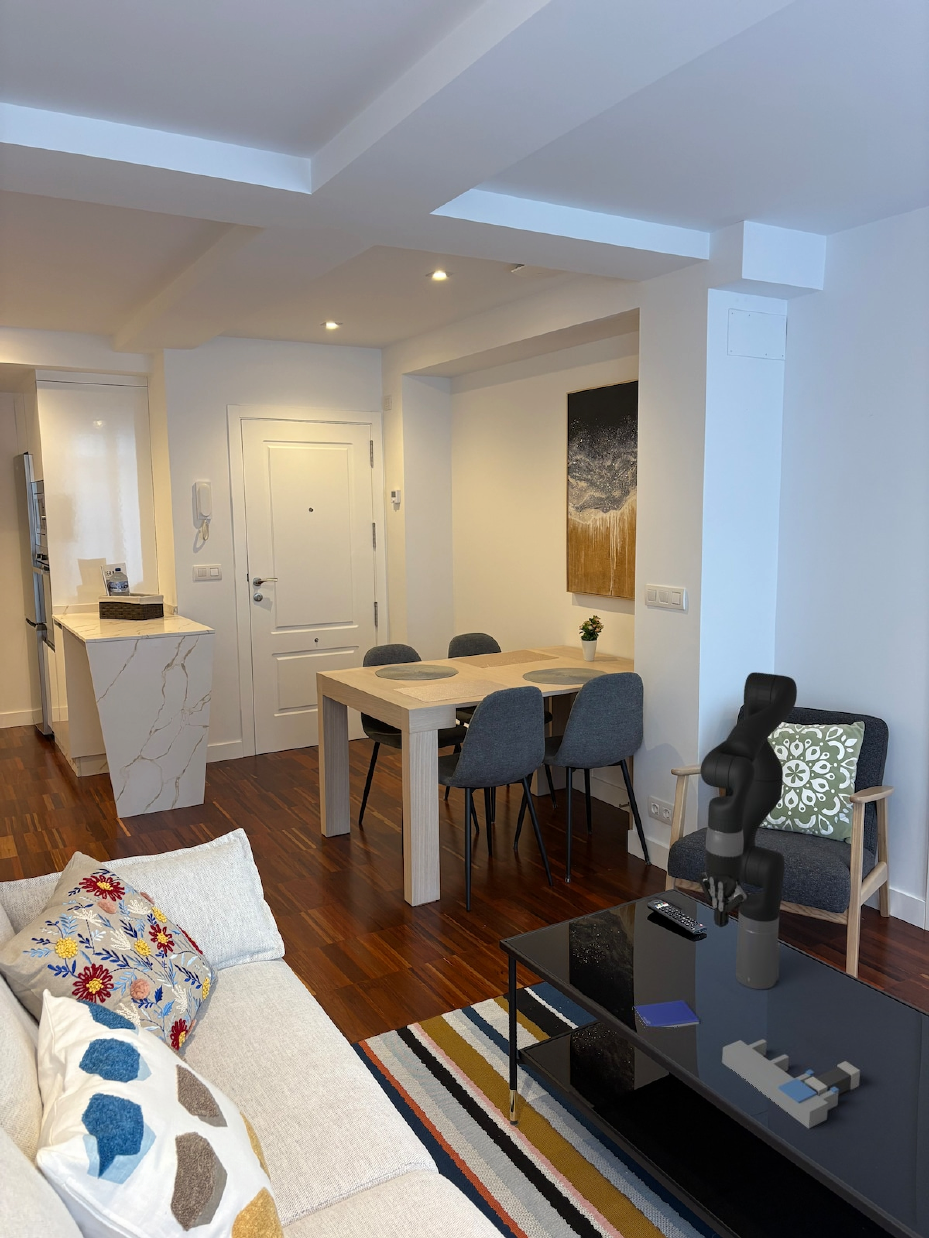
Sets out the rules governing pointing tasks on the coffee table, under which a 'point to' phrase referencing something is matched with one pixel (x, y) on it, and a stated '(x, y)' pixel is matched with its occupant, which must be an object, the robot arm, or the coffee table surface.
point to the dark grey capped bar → (835, 1079)
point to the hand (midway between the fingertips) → (720, 924)
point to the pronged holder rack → (779, 1082)
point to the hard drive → (667, 1014)
